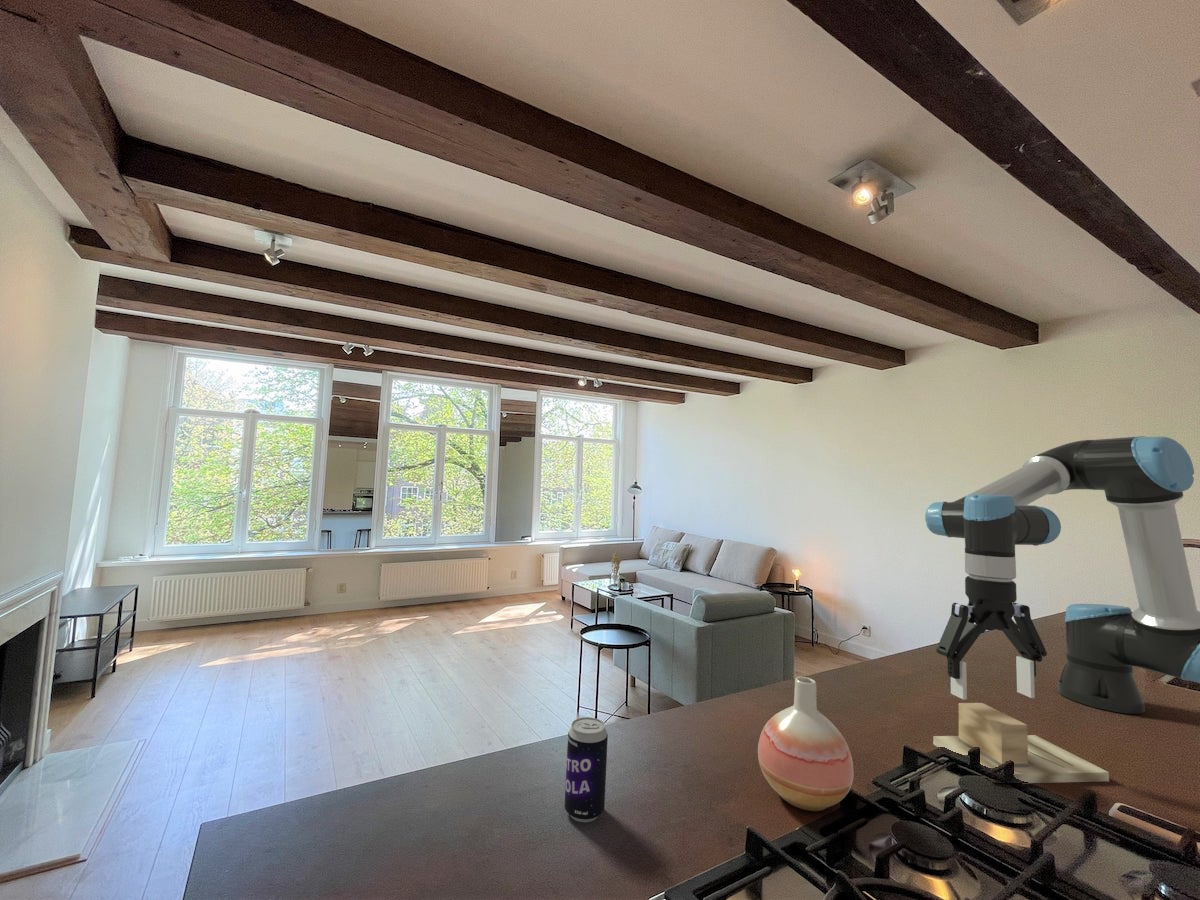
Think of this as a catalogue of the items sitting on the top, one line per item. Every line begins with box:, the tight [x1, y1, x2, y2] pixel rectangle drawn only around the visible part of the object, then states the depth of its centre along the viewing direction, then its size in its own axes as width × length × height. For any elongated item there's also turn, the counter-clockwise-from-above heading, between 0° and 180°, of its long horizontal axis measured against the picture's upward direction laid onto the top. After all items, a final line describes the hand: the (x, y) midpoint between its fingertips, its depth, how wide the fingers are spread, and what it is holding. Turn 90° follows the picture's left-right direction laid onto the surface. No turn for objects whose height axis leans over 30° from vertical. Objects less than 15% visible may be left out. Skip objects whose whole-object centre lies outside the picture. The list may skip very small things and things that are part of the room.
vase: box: [757, 676, 855, 812], centre depth 78 cm, size 14×14×18 cm
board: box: [932, 734, 1110, 784], centre depth 92 cm, size 22×13×2 cm, turn 97°
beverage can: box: [563, 717, 609, 823], centre depth 72 cm, size 6×6×12 cm
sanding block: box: [958, 702, 1029, 767], centre depth 92 cm, size 9×5×7 cm, turn 7°
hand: (992, 695), depth 92 cm, fingers open, 13 cm apart
